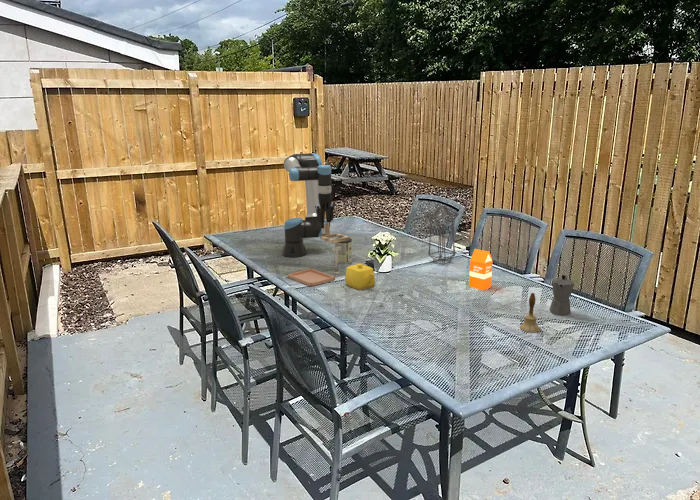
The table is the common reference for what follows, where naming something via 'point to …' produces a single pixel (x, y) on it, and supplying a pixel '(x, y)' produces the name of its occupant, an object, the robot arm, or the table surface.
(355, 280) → the teapot
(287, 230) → the robot arm
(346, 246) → the coffee can
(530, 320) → the hand bell
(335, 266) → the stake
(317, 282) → the tray
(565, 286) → the coffeepot
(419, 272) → the table surface
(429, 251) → the geometric lantern
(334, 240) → the tan wooden piece
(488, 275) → the orange juice
